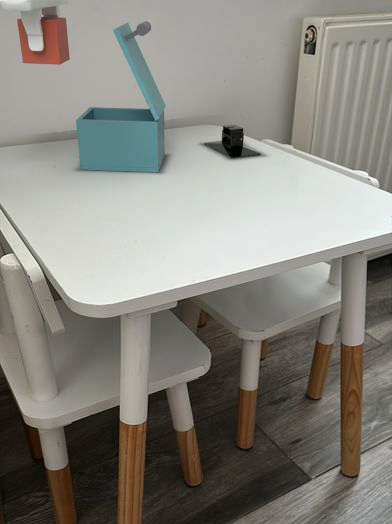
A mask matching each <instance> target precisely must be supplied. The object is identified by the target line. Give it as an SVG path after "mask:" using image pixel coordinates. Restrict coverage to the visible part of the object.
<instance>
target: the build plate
mask: <svg viewBox="0 0 392 524" xmlns="http://www.w3.org/2000/svg"><path fill="white" fill-rule="evenodd" d="M244 138H245V133H244V127H241V126H239V125H237V124H227V125H223V126H222V130H221V140H217V141H209V142H204V146H207V147H209V148H210V149H212V150H214V151H216V152H218V153H220V154H221V155H223V156H225V157H227V158H229V159H231V160H232V159H233V160H234V159H243V158H250V157H259V156H262V153H261V152H259V151H257V150H255V149H253V148H251V147H249V146H247V145H244V142H245V141H244Z"/></svg>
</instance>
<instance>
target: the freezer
mask: <svg viewBox="0 0 392 524" xmlns="http://www.w3.org/2000/svg"><path fill="white" fill-rule="evenodd" d="M75 124H76V134H77V144H78V157H79V164H80V170H81V171H106V172H107V171H108V172H110V171H111V172H133V173H134V172H138V173H139V172H141V173H159V171H160V169H161V167H162V163H163V161H164V158H165V156H166V153H165V150H166V147H165V144H166V143H165V109H164V110H163V112H162V114H161V116H160V118H159V119H158V120H156V121H155V119H154V117H153V115H152V113H151V111H150V108H134V107H133V108H131V107H128V108H127V107H102V106H101V107H99V106H98V107H95V106H89V107H88V108H87V110H85V111H84V112H83V113H82V114H80V116H79V117H78V118H77V119H75Z"/></svg>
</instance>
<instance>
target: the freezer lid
mask: <svg viewBox="0 0 392 524" xmlns="http://www.w3.org/2000/svg"><path fill="white" fill-rule="evenodd" d="M151 30H152V24H151V23H150V21H148V20H145V21H142V22H141V23H138V24H137V26H136V28H135V30H133V31H132V28H131V26H130V24H129V22H126V23H123V24H122V25H119V26H118V27H116V28H114V29H112V32H113V34H114V36H115V37H116V40H117V43H118V44H119V47H120V48H121V51H122V53H123V55H124V57H125V59H126V62H127V63H128V66H129V68H130V70H131V72H132V74H133V77H134V79H135V81H136V83H137V86H138V87H139V90H140V92H141V93H142V96H143V97H144V100H145V102H146V104H147V107H148V109H150V111H151V113H152V115H153V117H154V119H155V121H156V120H158V119H159V118H160V116H161V114H162V112H163V110H164V111H165V108H166V103H165V101H164V99H163V97H162V94H161V92H160V90H159V88H158V85H157V84H156V82H155V79H154V77H153V75H152V72H151V70H150V68H149V65H148V64H147V61H146V59H145V57H144V55H143V52H142V50H141V49H140V46H139V44H138V42H137V39H136V37H137V36H140V37H144V36H146V35H147V34H148V33H150V32H151Z"/></svg>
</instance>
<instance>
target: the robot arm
mask: <svg viewBox="0 0 392 524" xmlns="http://www.w3.org/2000/svg"><path fill="white" fill-rule="evenodd" d="M71 2H72V0H0V6H1V8H2V9H3V10H4V11H11V12H20V18H21V20H22V22H23V25H24V28H25V30H26V33H27V35H28V43H29V48H30V50H32V51H42V50H44V49H45V48H46V43H45V34H43V32H42V27H41V21H40V19H41V17H59V18H61V13H60V6H64V5H69V4H71Z"/></svg>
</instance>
